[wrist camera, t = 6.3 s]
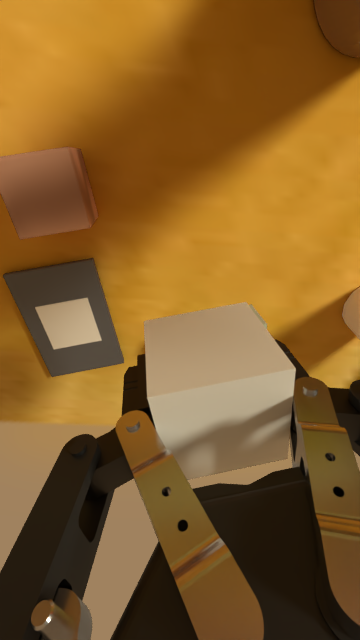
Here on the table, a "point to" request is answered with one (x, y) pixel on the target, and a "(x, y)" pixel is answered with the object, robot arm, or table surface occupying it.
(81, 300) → the card
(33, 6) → the table surface
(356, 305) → the foam cup
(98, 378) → the table surface
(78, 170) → the terracotta cube
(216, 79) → the table surface
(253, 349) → the cream cube
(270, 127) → the table surface
